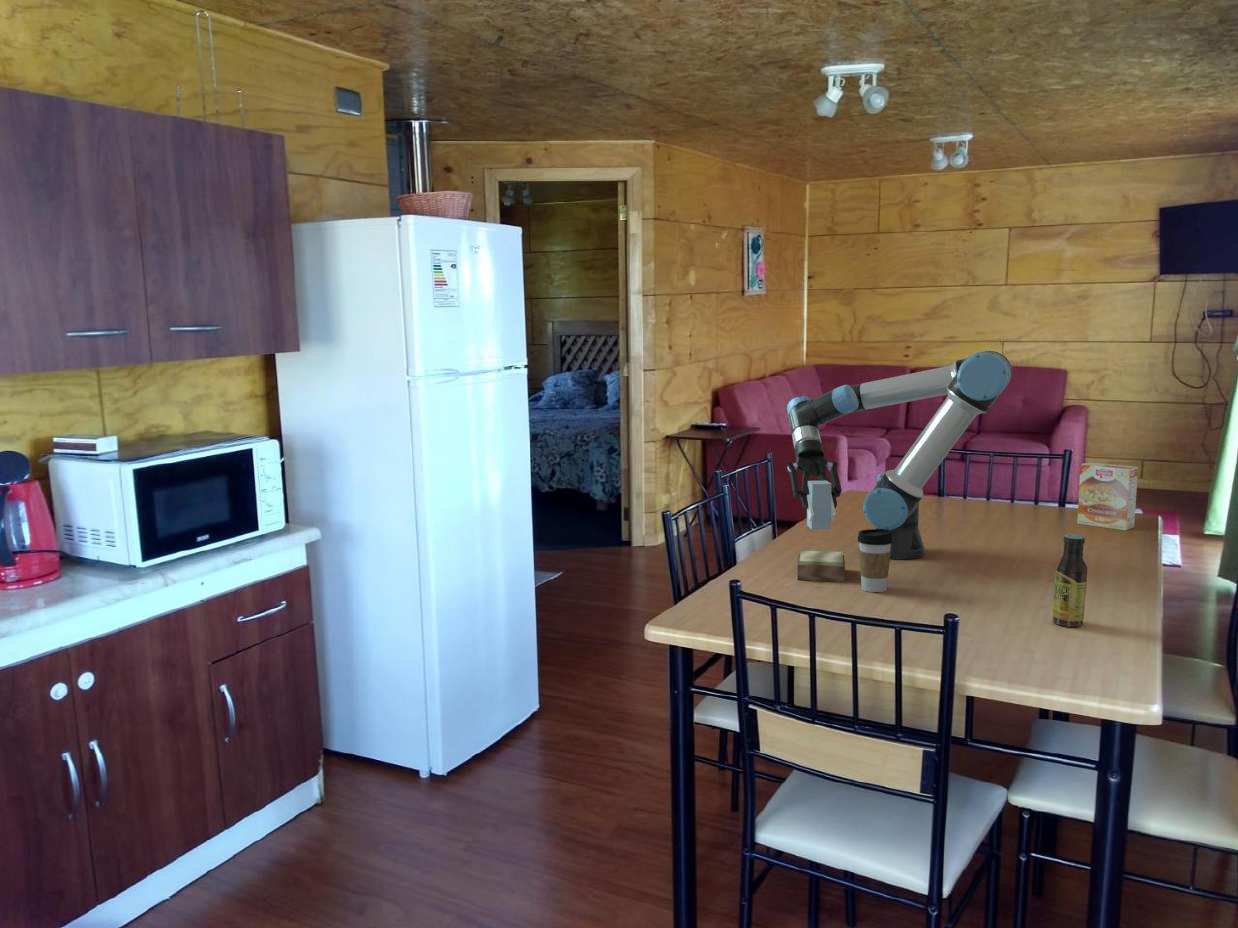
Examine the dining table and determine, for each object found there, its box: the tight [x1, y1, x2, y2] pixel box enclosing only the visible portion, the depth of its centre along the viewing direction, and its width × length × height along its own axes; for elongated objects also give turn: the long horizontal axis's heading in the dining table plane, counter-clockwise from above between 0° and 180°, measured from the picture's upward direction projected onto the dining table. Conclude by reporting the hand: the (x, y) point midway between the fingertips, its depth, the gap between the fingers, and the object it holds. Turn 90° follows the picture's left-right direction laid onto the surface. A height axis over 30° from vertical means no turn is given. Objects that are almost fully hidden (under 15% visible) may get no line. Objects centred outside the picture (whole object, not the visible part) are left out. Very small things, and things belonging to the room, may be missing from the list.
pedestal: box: [796, 550, 846, 583], centre depth 247 cm, size 12×12×5 cm
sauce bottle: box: [1052, 533, 1088, 628], centre depth 202 cm, size 7×6×20 cm
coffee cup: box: [857, 528, 893, 593], centre depth 232 cm, size 8×8×15 cm
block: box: [806, 480, 833, 530], centre depth 245 cm, size 5×5×12 cm
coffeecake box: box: [1076, 461, 1139, 531], centre depth 295 cm, size 15×7×20 cm, turn 42°
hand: (822, 517), depth 241 cm, fingers closed on block, 5 cm apart
